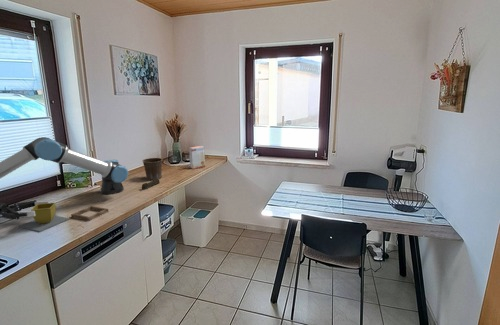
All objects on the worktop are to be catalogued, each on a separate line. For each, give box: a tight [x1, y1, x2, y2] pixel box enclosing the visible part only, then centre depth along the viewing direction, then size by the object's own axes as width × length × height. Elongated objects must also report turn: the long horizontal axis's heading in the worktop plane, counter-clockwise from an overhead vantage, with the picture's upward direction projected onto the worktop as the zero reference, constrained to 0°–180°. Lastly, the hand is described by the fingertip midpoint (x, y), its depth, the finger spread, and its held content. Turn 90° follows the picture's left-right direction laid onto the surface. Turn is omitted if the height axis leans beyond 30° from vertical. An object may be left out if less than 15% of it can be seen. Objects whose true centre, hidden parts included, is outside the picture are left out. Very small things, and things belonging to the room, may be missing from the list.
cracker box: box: [188, 145, 206, 170], centre depth 268 cm, size 14×6×21 cm, turn 130°
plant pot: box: [142, 157, 163, 181], centre depth 231 cm, size 16×16×16 cm
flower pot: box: [30, 202, 57, 224], centre depth 147 cm, size 9×9×9 cm
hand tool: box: [141, 179, 160, 191], centre depth 210 cm, size 19×4×5 cm, turn 160°
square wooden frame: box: [70, 205, 109, 222], centre depth 159 cm, size 13×13×2 cm
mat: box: [18, 215, 70, 233], centre depth 148 cm, size 16×16×1 cm
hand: (42, 208), depth 145 cm, fingers open, 13 cm apart
